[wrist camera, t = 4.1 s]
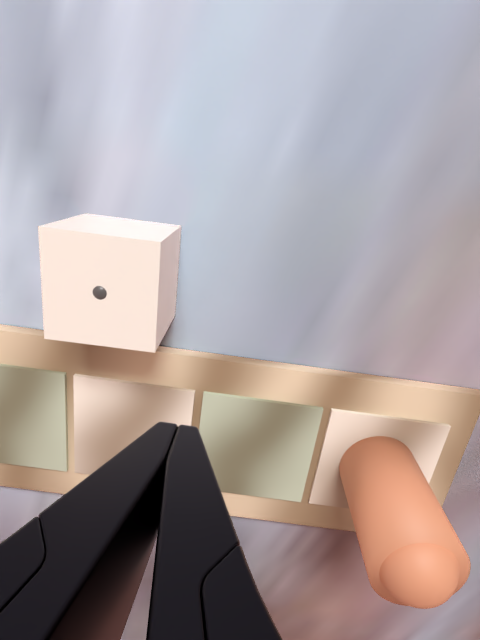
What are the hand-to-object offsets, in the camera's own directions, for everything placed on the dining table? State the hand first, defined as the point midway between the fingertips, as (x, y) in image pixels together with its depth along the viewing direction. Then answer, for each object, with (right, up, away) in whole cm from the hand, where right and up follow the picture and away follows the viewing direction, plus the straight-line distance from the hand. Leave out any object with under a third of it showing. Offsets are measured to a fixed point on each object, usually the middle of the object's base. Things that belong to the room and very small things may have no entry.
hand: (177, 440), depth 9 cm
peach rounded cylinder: (+8, -5, +11) cm, 14 cm away
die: (-3, +5, +9) cm, 11 cm away
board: (-1, -3, +12) cm, 12 cm away
